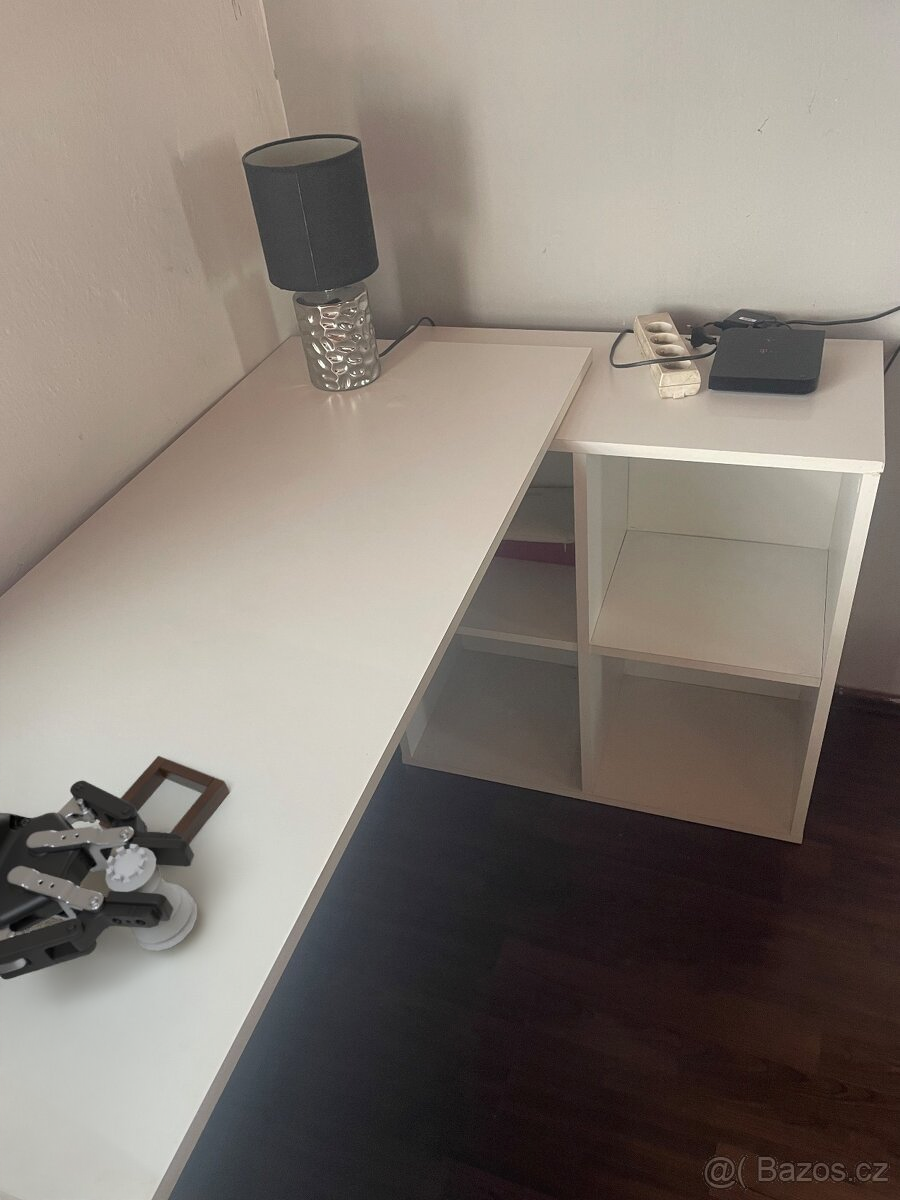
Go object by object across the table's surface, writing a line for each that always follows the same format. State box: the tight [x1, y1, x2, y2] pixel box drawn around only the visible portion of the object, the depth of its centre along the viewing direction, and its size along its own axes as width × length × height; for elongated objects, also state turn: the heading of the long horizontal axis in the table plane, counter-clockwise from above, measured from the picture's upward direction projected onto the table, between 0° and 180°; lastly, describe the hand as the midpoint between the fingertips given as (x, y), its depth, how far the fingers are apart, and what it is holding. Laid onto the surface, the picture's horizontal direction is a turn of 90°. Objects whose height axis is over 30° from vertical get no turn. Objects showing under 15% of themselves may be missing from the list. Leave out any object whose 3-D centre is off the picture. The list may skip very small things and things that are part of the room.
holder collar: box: [98, 755, 230, 844], centre depth 69 cm, size 7×7×2 cm
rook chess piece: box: [105, 844, 198, 952], centre depth 58 cm, size 4×4×8 cm
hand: (177, 879), depth 56 cm, fingers closed on rook chess piece, 3 cm apart
